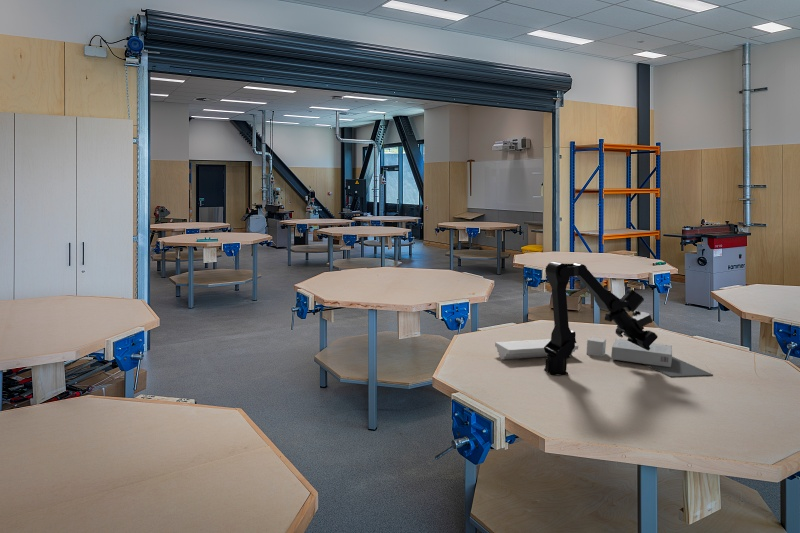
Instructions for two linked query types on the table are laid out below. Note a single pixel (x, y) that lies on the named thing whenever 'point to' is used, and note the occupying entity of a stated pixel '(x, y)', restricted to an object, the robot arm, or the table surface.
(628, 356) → the skincare box
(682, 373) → the rubber mat
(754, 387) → the table surface
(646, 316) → the robot arm
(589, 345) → the white cube
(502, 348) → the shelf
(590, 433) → the table surface
